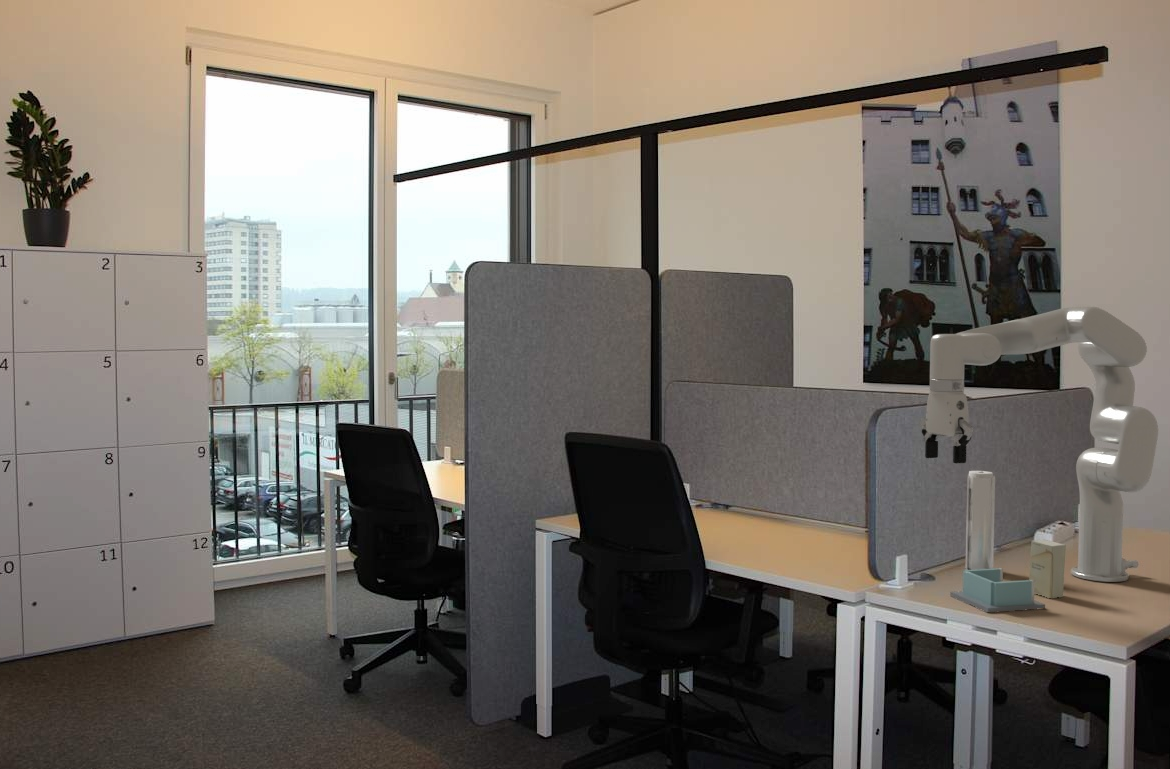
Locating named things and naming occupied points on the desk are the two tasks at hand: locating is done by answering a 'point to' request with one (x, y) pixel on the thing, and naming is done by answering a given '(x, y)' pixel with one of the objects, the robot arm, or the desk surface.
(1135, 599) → the desk surface
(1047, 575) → the skincare box
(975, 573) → the holder
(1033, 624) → the desk surface
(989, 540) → the tall white box
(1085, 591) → the desk surface
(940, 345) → the robot arm
